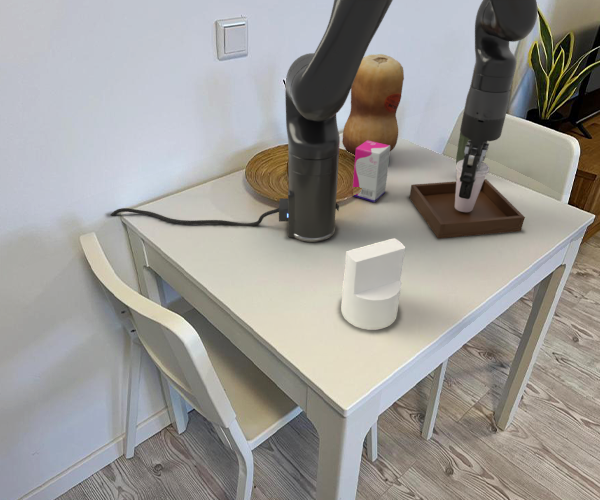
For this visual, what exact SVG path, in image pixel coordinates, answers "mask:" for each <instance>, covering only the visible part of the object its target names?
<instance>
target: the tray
mask: <svg viewBox="0 0 600 500" xmlns="http://www.w3.org/2000/svg"><path fill="white" fill-rule="evenodd" d="M455 194H456V181H443V182H429V183H419V184H418V183H417V184H411V185H410V191H409V199H410V201H411V202H412V204H413V205H414V207H415V208H416V210H417V211H418V212H419V214H420V215H421V216H422V218H423V220H424V221H425V222H426V224H427V225H428V227H429V228H430V230H431V231H432V232H433V234H434V235H435V236H436V238H437V239H438V240H439V239H449V238H460V237H461V238H462V237H472V236H483V235H484V236H485V235H494V234H506V233H516V232H522V229H523V226H524V222H525V220H526V219H525V218H526V217H525V216H524V214H522V212H520V211H519V209H517V208H516V207H515V206H514V205H513V203H512V202H510V201H509V200H508V198H506V197H505V196H504V195H503V194H502V193H501V192H500V191H499V190H498V189H497V188H496V187H495V186H494V185H493V184H492V183H491V182H490V181H489V180H488V179H486V178H485V179H484V182H483V184H482V187H481V189H480V192H479V195H478V197H477V200H476V202H475V205H474V207H473V210H472V211H471V212H461V211H458V210H457V209H455Z"/></svg>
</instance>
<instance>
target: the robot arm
mask: <svg viewBox="0 0 600 500" xmlns="http://www.w3.org/2000/svg"><path fill="white" fill-rule="evenodd" d="M393 1H394V0H333V4H332V9H331V13H330V17H329V20H328V24H327V26H326V29H325V31H324V34H323V35H322V38H321V40H320V42H319V43H318V45H317V47H316V49H315V51H314V52H311V53H305V54H303V55H300V56H299V57H298V58H296V59H295V60H294V61H293V62H292V63H291V65H290V66H289V68H288V70H287V72H286V77H285V83H284V85H285V86H284V87H285V89H284V92H285V93H284V95H285V128H286V135H287V143H288V144H287V148H288V149H287V151H288V159H287V160H288V162H287V163H288V164H287V165H288V172H287V173H288V189H287V198H284V197H283V198H279V201H278V202H279V203H278V208H275V209H272V210H268V211H266V212H264V213H262V214H261V215H260V216H259V217H258V219H257V221H254V222H248V223H246V222H245V223H244V222H236V221H229V220H223V219H199V220H198V219H197V220H196V219H195V220H183V219H175V218H171V217H167V216H163V215H162V214H158V213H156V212H154V211H153V212H152V211H148V210H141V209H137V208H130V207H129V208H128V207H121V208H117V209H116V210H114V211H112V212H111V213H110V216H111V217H114V216H116V215H117V214H119V213H125V212H126V213H134V214H139V215H147V216H151V217H153V218H154V217H155V218H157V219H160V220H163V221H165V222H168V223H174V224H180V225H209V224H211V225H213V224H214V225H227V226H235V227H237V226H238V227H256V226H259V225H261V223H262V221H263V220H264V218H266V217H268V216H269V215H274V214H277V213H278V222H281V223H283V222H287V235H288V238H294V239H296V240H298V241H302V242H307V243H316V242H323V241H326V240H328V239H330V238H331V237H332V236H334V234H335V232H336V213H337V212H339V210H340V205H339V204H338V203H337V197H338V196H337V194H338V178H339V177H338V176H339V162H340V159H339V158H340V145H341V143H340V142H341V139H340V138H341V137H340V133H339V128H338V127H339V126H338V121H337V120H338V119H337V114H338V113H339V112H340V110H341V109H342V108H343V107H344V105H345V103H346V101H347V99H348V96H349V95H350V93H351V87H352V85H353V82H354V79H355V77H356V74H357V72H358V69H359V67H360V64H361V62H362V59H363V58H364V57H365V56H366V53H367V50H368V49H369V46H370V45H371V42H372V40H373V38H374V36H375V35H376V33H377V31H378V29H379V28H380V26H381V24H382V22H383V21H384V18H385V17H386V15H387V12H388V10H389V9H390V6H391V5H392V2H393ZM537 20H538V2H537V0H481V3H480V5H479V7H478V9H477V12H476V16H475V21H474V22H475V23H474V54H475V55H474V56H475V61H474V67H473V70H472V75H471V81H470V85H469V89H468V91H467V95H466V98H465V103H464V109H463V113H462V117H461V124H460V129H459V133H460V132H461V134H462V135H463V136H464V137H467V138H469V139H470V140H468V144H467V145H466V147H465V151H464V152H465V155H464V160H463V164H462V173H461V177H460V182H462V183H461V187H460V192H459V197H460V198H465V199H469V198H470V196H471V192H472V188H473V184H474V181H475V180H476V179H475V177H476V173H477V172H478V171H480V169H481V165H482V162H484V161H485V159H486V156H487V152H488V150H489V147H490V143H489V142H493V141H497V140H498V139H500V138H501V136H502V132H503V128H504V125H505V121H506V116H507V112H508V108H509V105H510V97H511V96H510V95H511V89H512V85H513V82H514V78H515V73H516V68H517V57H516V56H515V55H514V53H512V50H511V49H510V42H511V43H512V42H513V43H514V42H519V41H522V40H524V39H525V38H527V37H528V35H530V34H531V32H532V31H533V30H534V28H535V26H536V22H537ZM478 163H479V164H478ZM477 165H478V166H477ZM466 172H467V173H471V174H472V176H468V175H465V174H466Z"/></svg>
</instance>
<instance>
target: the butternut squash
mask: <svg viewBox="0 0 600 500" xmlns="http://www.w3.org/2000/svg"><path fill="white" fill-rule="evenodd" d="M404 80H405V75H404V67H403V65H402V64H401V63H400V61H398V60H397V59H395V57H392V56H390V55H387V54H383V53H376V54H368V55H364V57H363V59H362V62H361V64H360V67H359V69H358V72H357V74H356V77H355V79H354V82H353V85H352V87H351V90H350V112H349V115H348V117H347V119H346V122H345V124H344V126H343V131H342V141H341V142H342V145H343V147H344V149H345V151H346V152H347V151H348V152H350V153H352V154H354V155H355V151H356V148H357V147H358V146H360V145H361V144H363V143H364V142H366V141H367V140H368V141H373V142H377V143H381V144H386V145H390V152H392V151H393V150H394V149H395V147H396V145H397V143H398V139H399V125H398V120H397V111H398V108H399V105H400V103H401V99H402V93H403V86H404Z"/></svg>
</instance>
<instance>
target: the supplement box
mask: <svg viewBox="0 0 600 500" xmlns="http://www.w3.org/2000/svg"><path fill="white" fill-rule="evenodd" d="M390 153H391V151H390V145H386V144H381V143H377V142H373V141H368V140H367V141H366V142H364V143H363V144H361V145H360V146H358V147H357V148H356V151H355V158H354V167H353V178H352V179H353V180H352V188H353V187H360V188H362V190H361V192H360V193H358V194H356V195H354V196H353V197H354V198H358V199H361V200H364V201H367V202H371V203H376V202H377V201H378V200H379V199H380V198H382V196H383V195H384V194H386V189H387V180H388V172H389V161H390Z"/></svg>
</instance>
